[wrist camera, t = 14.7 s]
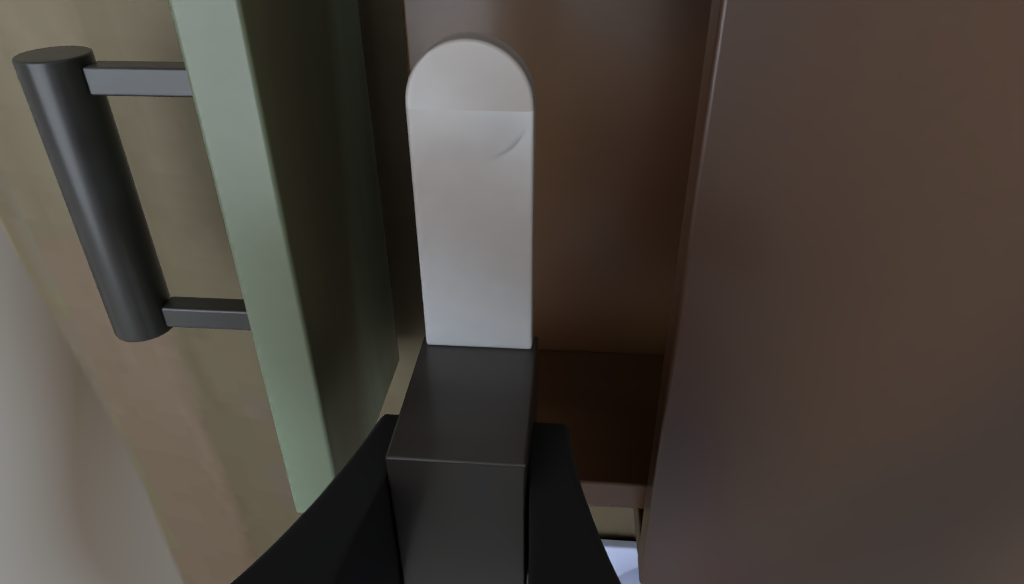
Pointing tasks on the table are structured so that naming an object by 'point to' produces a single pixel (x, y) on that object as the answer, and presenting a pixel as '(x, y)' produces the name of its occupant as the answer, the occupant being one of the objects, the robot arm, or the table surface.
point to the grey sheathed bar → (469, 319)
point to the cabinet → (847, 302)
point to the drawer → (358, 213)
